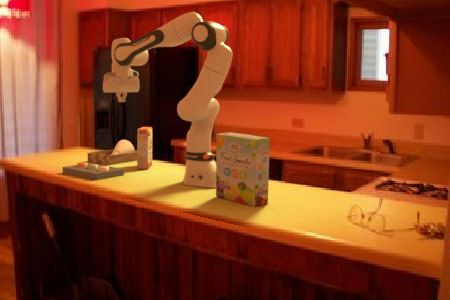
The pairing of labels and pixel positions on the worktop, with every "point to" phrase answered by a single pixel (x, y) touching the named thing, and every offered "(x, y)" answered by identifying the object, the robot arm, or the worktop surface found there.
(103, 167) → the ivory button
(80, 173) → the panel
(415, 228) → the worktop surface
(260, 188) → the snack box
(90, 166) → the sage button
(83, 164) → the terracotta button
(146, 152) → the cracker box
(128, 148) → the cream teardrop
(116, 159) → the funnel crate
